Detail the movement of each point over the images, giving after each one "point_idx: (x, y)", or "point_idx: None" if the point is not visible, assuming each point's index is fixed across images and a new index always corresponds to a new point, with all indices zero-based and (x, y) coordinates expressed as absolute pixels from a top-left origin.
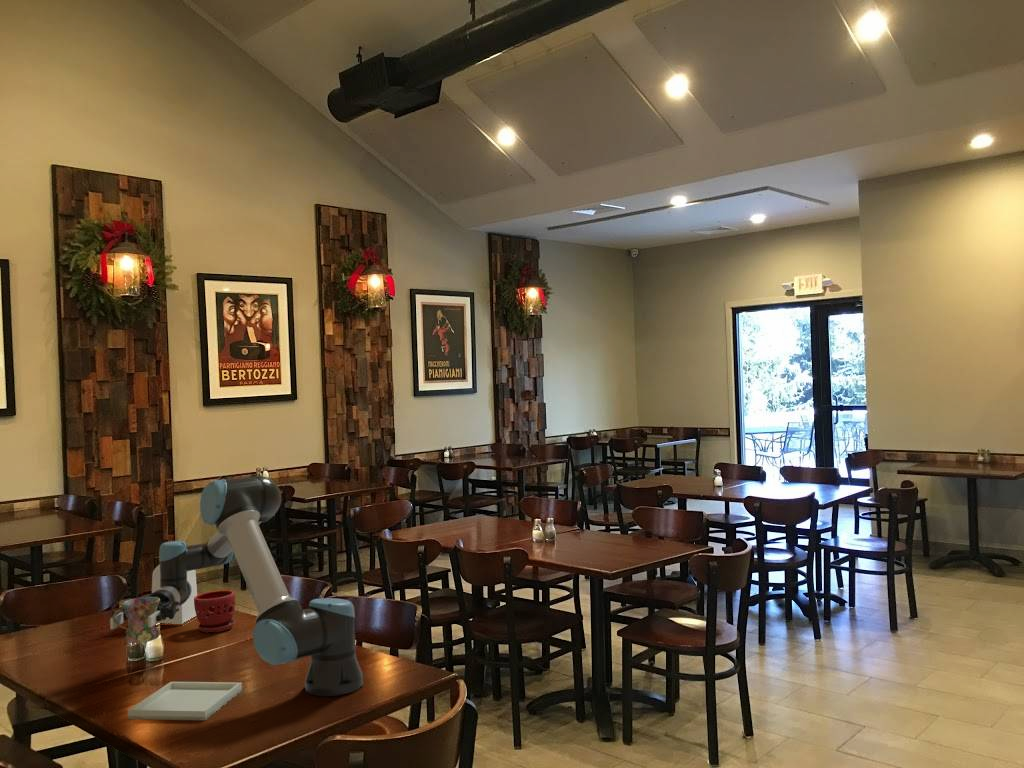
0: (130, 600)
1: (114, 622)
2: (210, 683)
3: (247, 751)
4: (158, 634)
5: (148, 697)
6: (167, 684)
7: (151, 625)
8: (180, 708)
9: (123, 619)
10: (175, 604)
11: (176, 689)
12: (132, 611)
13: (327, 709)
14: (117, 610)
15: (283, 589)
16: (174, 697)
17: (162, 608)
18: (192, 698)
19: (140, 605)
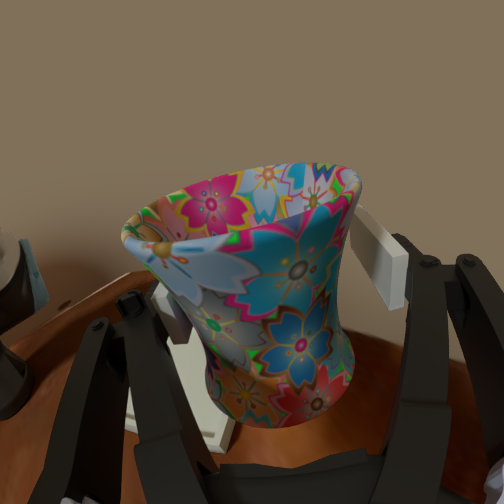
0: (346, 190)
1: (352, 229)
2: (128, 418)
3: (124, 280)
4: (205, 370)
5: None
6: (222, 427)
7: None
8: (181, 345)
9: (407, 314)
10: (49, 441)
11: (205, 433)
12: (264, 201)
13: (43, 341)
14: (490, 287)
15: None
16: (199, 390)
17: (133, 290)
18: None
19: (217, 180)
